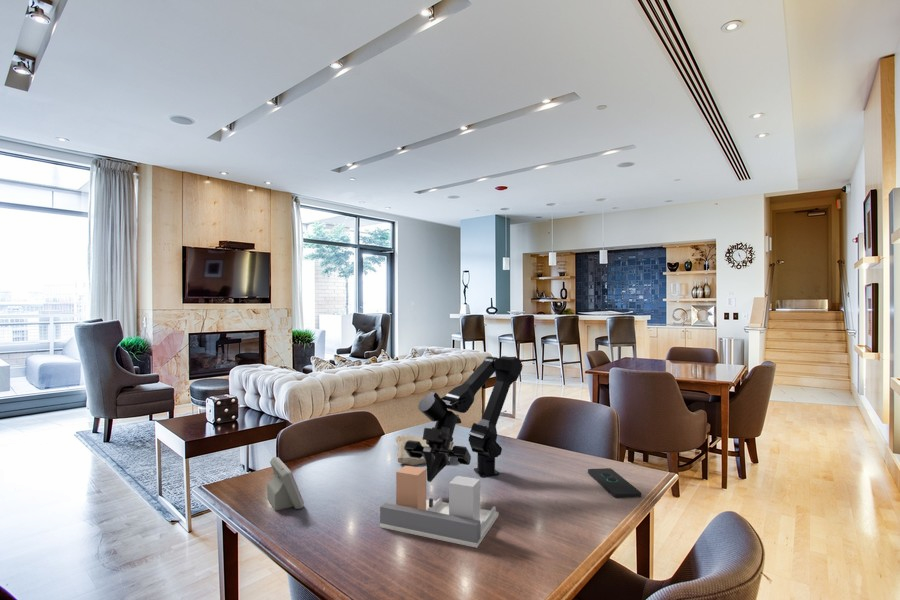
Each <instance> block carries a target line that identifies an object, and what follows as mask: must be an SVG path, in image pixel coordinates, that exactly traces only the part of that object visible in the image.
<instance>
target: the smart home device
mask: <svg viewBox="0 0 900 600" xmlns="http://www.w3.org/2000/svg"><path fill="white" fill-rule="evenodd" d="M587 474H588V476H590V477H592V479H594V481H596V483H598V484H599V485H600V486H601V487H602V488H604V490H606V492H608V493H609V494H610V495H611V496H612V497H614V498H615V499H627V498H628V499H631V498H641V497H642V492H641V491H640V490H639V489H638V488H636V487H635V485H633V484H631V483H630V482H629V481H627V480H626V479H625V478H624V477H623V476H622V475H620V474H619V473H618V472H617V471H615V470H614V469H613V468H612V467H611V468H610V467H609V468H603V467H602V468H588V469H587Z"/></svg>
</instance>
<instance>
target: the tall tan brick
mask: <svg viewBox="0 0 900 600" xmlns="http://www.w3.org/2000/svg"><path fill="white" fill-rule="evenodd" d="M395 474H396V477H395V479H396V481H395V482H396V485H395V486H396V487H395V489H396V490H395V491H396V492H395V498H396V499H395V505H400V506H405V507H411V508H416V509H421V510H426V499H427V468H424V467H418V466H413V465H404V466H403V467H400V469H398V470H397V471H396V473H395Z"/></svg>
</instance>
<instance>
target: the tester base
mask: <svg viewBox="0 0 900 600" xmlns="http://www.w3.org/2000/svg"><path fill="white" fill-rule="evenodd" d="M496 508H497V506H494V505H493V506H492V508H491V509H490V510H489V509H483V508H480V521H479V520H474V519H469V518H464V517H458V516H453V515H449V502H444V501H443V497H442V496H439V498H437V499H436V500H434V498H428V499H427V498H426V510H421V509H416V508H411V507H405V506H400V505H396V503H395V504H394V503H388V502H384V503H383V504H382V505H380V506H379V527H380V528H383V529H387V530H391V531H396V532H399V533H400V532H401V533H405V534H411V535H415V536H420V537H425V538H429V539H434V540H438V541H444V542H446V543H447V542H448V543H452V544H458V545H462V546H466V547H470V548H471V547H473V548H478V547H479V545H480V544H481V542H482V541H483V540H484V538H485V537H486V536H487V534H488V532H489V531H490V529H491V528H492V526H493V525H494V523H495V521H496V520H497V519H498V518H499V513H500V512H499V511H497V509H496Z"/></svg>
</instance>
